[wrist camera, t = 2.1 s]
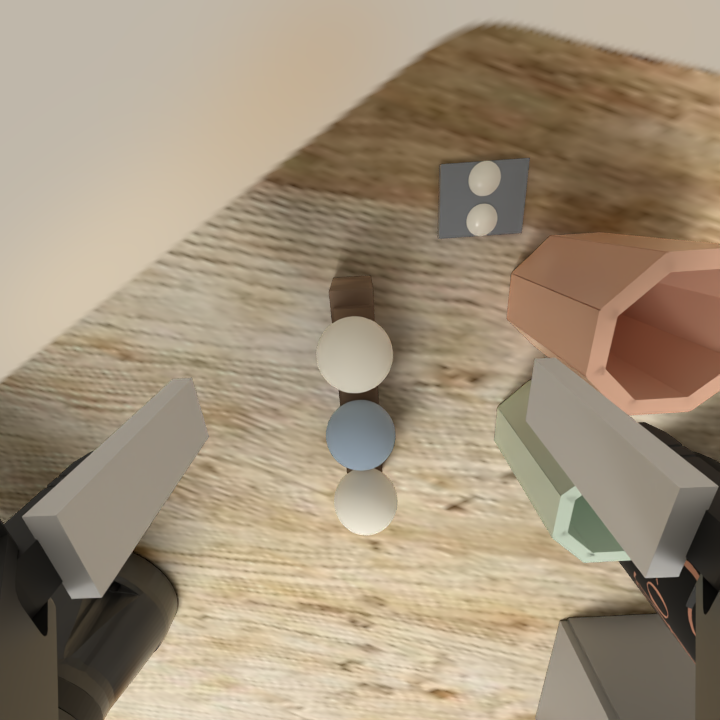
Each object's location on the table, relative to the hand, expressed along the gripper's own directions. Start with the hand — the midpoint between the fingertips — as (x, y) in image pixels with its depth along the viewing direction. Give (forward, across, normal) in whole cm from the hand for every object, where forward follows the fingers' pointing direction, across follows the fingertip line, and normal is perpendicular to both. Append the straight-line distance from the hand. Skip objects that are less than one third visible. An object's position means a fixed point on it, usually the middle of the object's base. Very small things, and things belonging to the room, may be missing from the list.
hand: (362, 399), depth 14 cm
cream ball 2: (+7, 0, -10) cm, 12 cm away
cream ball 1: (+7, 0, 0) cm, 7 cm away
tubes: (+11, +11, -2) cm, 16 cm away
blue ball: (+7, 0, -5) cm, 9 cm away
